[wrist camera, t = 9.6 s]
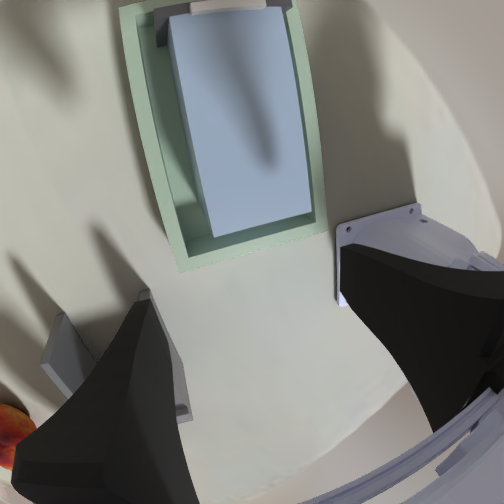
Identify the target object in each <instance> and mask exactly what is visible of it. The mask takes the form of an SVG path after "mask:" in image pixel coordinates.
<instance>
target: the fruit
mask: <svg viewBox="0 0 504 504" xmlns="http://www.w3.org/2000/svg"><path fill="white" fill-rule="evenodd" d="M36 429H37V428H36V426H35V424H34V422H33V421H32V420H31V419H30V418H29V417H28V416H27V415H26V414H24V413H23V412H21V411H20V410H18V409H17V408H14V407H12V406H9V405H6V404H0V466H1V467H3V468H6V469H9V470H12V469H13V462H14V455H15V449H16V444H18V443H19V442H20V441H22V440H23V439H24V438H26V437H27V436H28V435H30V434H31V433H32V432H34V431H35V430H36Z"/></svg>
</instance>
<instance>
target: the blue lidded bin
mask: <svg viewBox="0 0 504 504" xmlns="http://www.w3.org/2000/svg"><path fill="white" fill-rule="evenodd" d="M292 7H293V5H292V0H202V1H194V2H187V3H181V4H175V5H170V6H164V7H160V8H155V9H153V11H154V26H155V39H156V45H157V48H159V47H163V46H167V48H168V54H169V59H170V65H171V70H172V76H173V81H174V87H175V92H176V97H177V102H178V107H179V112H180V117H181V122H182V127H183V132H184V136H185V141H186V146H187V150H188V155H189V160H190V164H191V169H192V173H193V177H194V182H195V186H196V191H197V195H198V199H199V203H200V207H201V209H202V212H203V214H204V216H205V219H206V221H207V223H208V225H209V227H210V230H211V232H212V234H213V236H214V238H215V237H218V236H222V235H225V234H229V233H233V232H236V231H240V230H244V229H247V228H251V227H255V226H259V225H262V224H266V223H270V222H274V221H278V220H281V219H285V218H289V217H293V216H297V215H301V214H305V213H308V212H312V210H311V199H310V189H309V179H308V170H307V161H306V153H305V145H304V137H303V129H302V122H301V115H300V108H299V101H298V95H297V88H296V82H295V76H294V70H293V65H292V59H291V53H290V48H289V43H288V38H287V32H286V27H285V23H284V18H283V14H284V13H285V12H287V11H288V10H290V9H291V8H292Z"/></svg>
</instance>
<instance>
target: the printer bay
mask: <svg viewBox="0 0 504 504" xmlns="http://www.w3.org/2000/svg"><path fill="white" fill-rule="evenodd" d="M150 298H151V301H152V303H153V306H154V308H155V311H156V313H157V316H158V318H159V321H160V323H161V326H162V328H163V330H164V333H165V335H166V337H167V340H168V343H169V349H170V354H171V360H172V367H173V382H174V396H175V409H176V419H177V424H179V423H184V422H188V421H192V420H193V417H192V412H191V407H190V401H189V396H188V390H187V385H186V379H185V373H184V367H183V363H182V361H181V359H180V356H179V354H178V352H177V350H176V348H175V346H174V344H173V342H172V340H171V337H170V335H169V333H168V331H167V329H166V326H165V324H164V322H163V319H162V317H161V315H160V313H159V310H158V308H157V305H156V303H155V301H154V298H153V296H152V293H151V291H150V289H149V290H145V291H142V292H140V293H139V301H142V300H146V299H150ZM96 365H97V363H96V361H95V360H94V358H93V357H92V356H91V354H90V353H89V351H88V349H87V348H86V346H85V345H84V343H83V342H82V340H81V339H80V337H79V335H78V334H77V332H76V330H75V329H74V327H73V325H72V324H71V322H70V320H69V319H68V317H67V315H66V313H63V314H59V315H57V317H56V320H55V322H54V325H53V328H52V330H51V333H50V336H49V339H48V341H47V344H46V347H45V350H44V353H43V356H42V359H41V362H40V366H41V367H42V369H43V370H44V371H45V373H46V374H47V375H48V376H49V378H50V379H51V380H52V381H53V382H54V384H55V385H56V386H57V387H58V388H59V390H60V391H61V392H62V393H63V394H64V395H65V397H66V398H67V399H69V398H70V397H71V396H72V395H73V394H74V393H75V391H76V390H77V389H78V388H79V387H80V386H81V385H82V384H83V382H84V381H85V380H86V378H87V377H88V376H89V375H90V373H91V372H92V371H93V369H94V368H95V367H96Z"/></svg>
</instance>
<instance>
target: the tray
mask: <svg viewBox="0 0 504 504" xmlns="http://www.w3.org/2000/svg"><path fill="white" fill-rule="evenodd" d="M194 1H202V0H146V1H142V2H138V3H134V4H130V5H126V6H123V7H119V8H118V9H119V17H120V25H121V33H122V40H123V47H124V53H125V59H126V65H127V71H128V77H129V82H130V88H131V93H132V98H133V103H134V108H135V113H136V117H137V122H138V127H139V131H140V136H141V140H142V144H143V148H144V153H145V157H146V161H147V165H148V169H149V173H150V177H151V180H152V184H153V188H154V192H155V195H156V199H157V203H158V206H159V210H160V213H161V217H162V220H163V224H164V227H165V230H166V234H167V237H168V240H169V243H170V247H171V250H172V253H173V256H174V259H175V262H176V266H177V269H178V272H179V273H182V272H186V271H189V270H193V269H196V268H200V267H203V266H207V265H210V264H214V263H217V262H221V261H224V260H228V259H231V258H235V257H238V256H242V255H245V254H249V253H252V252H256V251H259V250H263V249H266V248H270V247H273V246H277V245H280V244H284V243H287V242H291V241H294V240H298V239H301V238H305V237H308V236H312V235H315V234H319V233H322V232H326V231H328V226H327V210H326V197H325V184H324V173H323V163H322V153H321V144H320V135H319V127H318V119H317V112H316V104H315V97H314V91H313V84H312V78H311V72H310V66H309V60H308V55H307V49H306V44H305V39H304V34H303V29H302V24H301V19H300V15H299V10H298V6H297V1H296V0H292V5H293V7H292V8H291V9H290V10H288V11H287V12H285V13H284V14H283V18H284V23H285V27H286V32H287V38H288V43H289V48H290V53H291V59H292V65H293V70H294V76H295V82H296V88H297V95H298V101H299V108H300V115H301V122H302V129H303V137H304V145H305V153H306V161H307V170H308V179H309V189H310V199H311V210H312V212H308V213H305V214H301V215H297V216H293V217H289V218H285V219H281V220H278V221H274V222H270V223H266V224H262V225H259V226H255V227H251V228H247V229H244V230H240V231H236V232H233V233H229V234H225V235H222V236H218V237H215V238H214V236H213V234H212V232H211V230H210V227H209V225H208V223H207V221H206V219H205V216H204V214H203V212H202V209H201V207H200V203H199V199H198V195H197V191H196V186H195V182H194V177H193V173H192V169H191V164H190V160H189V155H188V150H187V146H186V141H185V136H184V132H183V127H182V122H181V117H180V112H179V107H178V102H177V97H176V92H175V87H174V81H173V76H172V70H171V65H170V59H169V54H168V48H167V46H163V47H159V48H157V45H156V39H155V26H154V11H153V9H155V8H160V7H164V6H170V5H175V4H181V3H187V2H194Z"/></svg>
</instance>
